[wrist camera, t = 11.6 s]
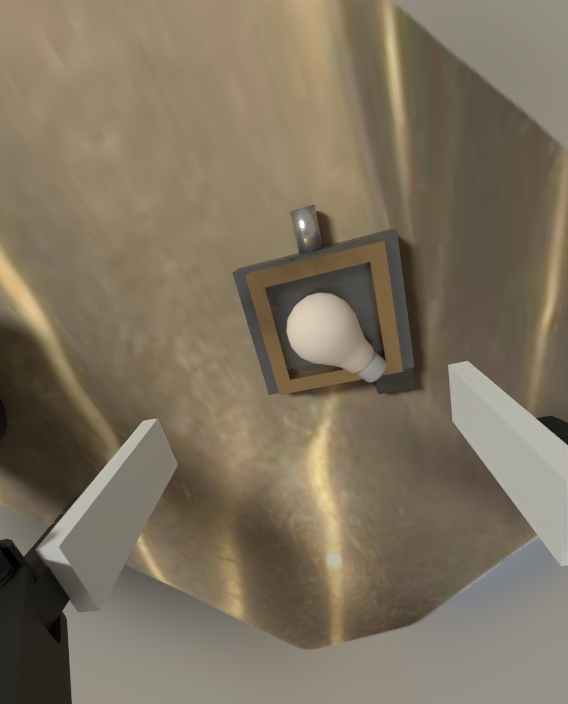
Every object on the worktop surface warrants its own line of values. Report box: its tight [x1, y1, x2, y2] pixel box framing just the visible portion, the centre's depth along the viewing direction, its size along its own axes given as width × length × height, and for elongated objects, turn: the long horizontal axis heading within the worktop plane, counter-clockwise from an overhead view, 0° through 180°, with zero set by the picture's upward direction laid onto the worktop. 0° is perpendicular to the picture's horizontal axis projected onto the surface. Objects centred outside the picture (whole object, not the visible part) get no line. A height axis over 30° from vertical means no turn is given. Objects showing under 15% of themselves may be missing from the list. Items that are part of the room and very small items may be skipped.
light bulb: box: [287, 293, 386, 383], centre depth 31 cm, size 7×7×11 cm
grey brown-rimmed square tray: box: [232, 205, 415, 395], centre depth 34 cm, size 16×21×4 cm
